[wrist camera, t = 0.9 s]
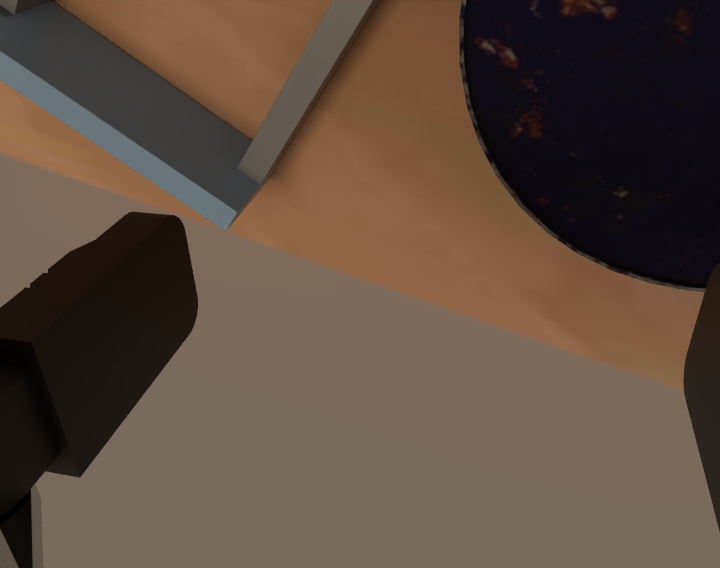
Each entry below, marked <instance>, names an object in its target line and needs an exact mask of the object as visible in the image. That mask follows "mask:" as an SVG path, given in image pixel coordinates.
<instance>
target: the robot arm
mask: <svg viewBox="0 0 720 568" xmlns="http://www.w3.org/2000/svg"><path fill="white" fill-rule="evenodd" d="M197 310H198V298H197V292H196V287H195V281H194V276H193V270H192V265H191V260H190V254H189V249H188V243H187V238H186V232H185V228H184V225H183V223H182V221H181V220H180V219H179V218H178V217H177V216H175V215H165V214H152V213H142V212H130V213H128V214H126V215H125V216H124V217H123V218H121V219H120V220H119V221H118V222H117V223H115V224H114V225H113V226H111V227H110V228H109V229H108V230H107V231H105V232H104V233H103V234H102V235H101V236H99V237H98V238H97V239H96V240H94V241H92V242H90V243H88V244H86V245H83V246H81V247H79V248H77V249H75V250H73V251H70V252H69V253H68V254H66V255H65V256H64V257H63V258H61V259H60V260H59V261H58V262H56V263H55V264H54V265H53V266H51V267H50V268H49V269H48V273H43V274H42V275H41V276H39V277H38V278H37V279H35V280H34V281H33V282H32V283H30V288H24V289H23V290H22V291H21V292H19V293H18V294H17V295H16V296H14V297H13V298H12V299H11V300H10V301H8V302H7V303H6V304H4V305H3V306H2V307H1V308H0V568H43V545H42V519H41V518H42V517H41V499H40V494H39V492H38V489H37V487H36V484H35V483H36V482H37V480H38V479H39V478H40V477H41V476H42V474H43V473H44V472H45V471H47V472H52V473H58V474H63V475H69V476H74V477H81V476H82V474H83V473H84V472H85V470H86V469H87V468H88V466H89V465H90V464H91V462H92V461H93V460H94V459H95V457H96V456H97V455H98V453H99V452H100V451H101V449H102V448H103V447H104V445H105V444H106V443H107V442H108V440H109V439H110V438H111V436H112V435H113V434H114V432H115V431H116V430H117V428H118V427H119V426H120V425H121V423H122V422H123V420H124V419H125V418H126V417H127V415H128V414H129V413H130V411H131V410H132V409H133V408H134V406H135V405H136V404H137V402H138V401H139V400H140V398H141V397H142V396H143V394H144V393H145V392H146V390H147V389H148V388H149V387H150V385H151V384H152V382H153V381H154V380H155V378H156V377H157V376H158V375H159V373H160V372H161V371H162V369H163V368H164V367H165V366H166V364H167V363H168V362H169V360H170V359H171V358H172V356H173V355H174V354H175V353H176V351H177V350H178V349H179V347H180V346H181V345H182V343H183V342H184V341H185V339H186V338H187V337H188V335H189V334H190V332H191V331H192V329H193V326H194V324H195V320H196V317H197ZM684 394H685V399H686V403H687V406H688V411H689V415H690V418H691V422H692V426H693V430H694V433H695V437H696V442H697V445H698V449H699V453H700V457H701V461H702V465H703V468H704V473H705V476H706V480H707V484H708V488H709V492H710V496H711V500H712V503H713V507H714V511H715V515H716V519H717V523H718V527H719V531H720V264H717V265H716V266H715V267H714V269H713V270H712V272H711V275H710V277H709V280H708V283H707V287H706V290H705V294H704V297H703V300H702V304H701V307H700V311H699V314H698V318H697V321H696V324H695V328H694V331H693V335H692V338H691V341H690V345H689V348H688V352H687V356H686V361H685V367H684Z"/></svg>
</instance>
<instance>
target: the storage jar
mask: <svg viewBox="0 0 720 568" xmlns="http://www.w3.org/2000/svg"><path fill="white" fill-rule="evenodd" d="M460 67H461V73H462V79H463V86H464V92H465V98H466V104H467V107H468V111H469V114H470V117H471V120H472V123H473V126H474V129H475V132H476V135H477V138H478V141H479V143H480V145H481V147H482V149H483V151H484V153H485V155H486V157H487V158H488V160H489V162H490V164H491V166H492V168H493V170H494V172H495V174H496V176H497V177H498V179H499V180H500V181H501V182H502V184H503V185H504V186H505V188H506V189H507V190H508V192H509V193H510V194H511V196H512V197H513V198H514V200H515V201H516V202H517V204H518V205H519V206H520V207H521V208H522V209H523V210H524V211H525V212H526V213H527V214H528V215H529V216H530V217H531V218H532V219H533V220H534V221H535V222H537V223H538V224H539V225H540V226H541V227H542V228H543V229H544V230H545V231H546V232H547V233H549V234H550V235H551V236H553V237H554V238H556V239H557V240H559V241H560V242H562V243H563V244H564V245H566V246H567V247H569V248H570V249H572V250H573V251H575V252H576V253H577V254H579V255H582V256H584V257H586V258H588V259H590V260H592V261H594V262H596V263H598V264H600V265H602V266H604V267H606V268H608V269H610V270H612V271H615V272H618V273H621V274H624V275H627V276H630V277H633V278H636V279H639V280H642V281H645V282H648V283H652V284H658V285H663V286H668V287H673V288H678V289H684V290H689V291H701V292H705V290H706V287H707V283H708V280H709V277H710V275H711V272H712V270H713V269H714V267H715V266H716V265H717V264H720V0H462V4H461V11H460Z"/></svg>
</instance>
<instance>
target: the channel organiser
mask: <svg viewBox="0 0 720 568" xmlns="http://www.w3.org/2000/svg"><path fill="white" fill-rule="evenodd" d="M378 1H379V0H333V1H332V2H331V4H330V6H329V8H328V9H327V11H326V13H325V15H324V16H323V18H322V20H321V22H320V23H319V25H318V27H317V29H316V30H315V32H314V34H313V36H312V37H311V39H310V41H309V43H308V44H307V46H306V48H305V50H304V52H303V53H302V55H301V57H300V59H299V60H298V62H297V64H296V66H295V67H294V69H293V71H292V73H291V74H290V76H289V78H288V80H287V81H286V83H285V85H284V87H283V88H282V90H281V92H280V94H279V95H278V97H277V99H276V101H275V102H274V104H273V106H272V108H271V110H270V111H269V113H268V115H267V117H266V118H265V120H264V122H263V124H262V125H261V127H260V129H259V131H258V132H257V134H256V136H255V138H254V139H253V141H251V140H250V139H249V138H247V137H246V136H244V135H243V134H241V133H240V132H239V131H237V130H236V129H234V128H233V127H231V126H230V125H229V124H227V123H226V122H224V121H223V120H221V119H220V118H219V117H217V116H216V115H214V114H213V113H211V112H210V111H209V110H207V109H206V108H204V107H203V106H201V105H200V104H199V103H197V102H196V101H194V100H193V99H191V98H190V97H189V96H187V95H186V94H184V93H183V92H181V91H180V90H179V89H177V88H176V87H174V86H173V85H171V84H170V83H169V82H167V81H166V80H164V79H163V78H161V77H160V76H159V75H157V74H156V73H154V72H153V71H151V70H150V69H149V68H147V67H146V66H144V65H143V64H141V63H140V62H139V61H137V60H136V59H134V58H133V57H131V56H130V55H129V54H127V53H126V52H124V51H123V50H121V49H120V48H119V47H117V46H116V45H114V44H113V43H111V42H110V41H109V40H107V39H106V38H104V37H103V36H101V35H100V34H99V33H97V32H96V31H94V30H93V29H91V28H90V27H89V26H87V25H86V24H84V23H83V22H81V21H80V20H79V19H77V18H76V17H74V16H73V15H71V14H70V13H69V12H67V11H66V10H64V9H63V8H61V7H60V6H59V5H57V4H56V3H54V2H53V1H52V0H0V80H1V81H3V82H4V83H5V84H7V85H8V86H10V87H11V88H13V89H14V90H16V91H17V92H19V93H20V94H22V95H23V96H25V97H26V98H28V99H29V100H31V101H32V102H34V103H35V104H37V105H38V106H40V107H41V108H43V109H44V110H46V111H47V112H49V113H50V114H52V115H53V116H54V117H56V118H57V119H59V120H60V121H62V122H63V123H65V124H66V125H68V126H69V127H71V128H72V129H74V130H75V131H77V132H78V133H80V134H81V135H83V136H84V137H86V138H87V139H89V140H90V141H92V142H93V143H95V144H96V145H98V146H99V147H101V148H102V149H104V150H105V151H106V152H108V153H109V154H111V155H112V156H114V157H115V158H117V159H118V160H120V161H121V162H123V163H124V164H126V165H127V166H129V167H130V168H132V169H133V170H135V171H136V172H138V173H139V174H141V175H142V176H144V177H145V178H147V179H148V180H150V181H151V182H153V183H154V184H156V185H157V186H158V187H160V188H161V189H163V190H164V191H166V192H167V193H169V194H170V195H172V196H173V197H175V198H176V199H178V200H179V201H181V202H182V203H184V204H185V205H187V206H188V207H190V208H191V209H193V210H194V211H196V212H197V213H199V214H200V215H202V216H203V217H205V218H206V219H207V220H209V221H210V222H212V223H213V224H215V225H216V226H218V227H219V228H221V229H222V230H224V231H225V232H226V231H227V229H228V228H229V227H230V226H231V225H232V223H233V222H234V221H235V220H236V218H237V217H238V216H239V215H240V214H241V212H242V211H243V210H244V209H245V207H246V206H247V205H248V204H249V203H250V201H251V200H252V199H253V198H254V196H255V195H256V194H257V193H258V192H259V190H260V189H261V188H262V187H263V186H264V184H265V183H266V182H267V181H268V179H269V178H270V176H271V175H272V173H273V171H274V170H275V168H276V167H277V165H278V163H279V162H280V160H281V159H282V157H283V155H284V154H285V152H286V150H287V149H288V147H289V146H290V144H291V142H292V141H293V139H294V137H295V136H296V134H297V133H298V131H299V129H300V128H301V126H302V125H303V123H304V121H305V120H306V118H307V116H308V115H309V113H310V112H311V110H312V108H313V107H314V105H315V103H316V102H317V100H318V99H319V97H320V95H321V94H322V92H323V91H324V89H325V87H326V86H327V84H328V82H329V81H330V79H331V78H332V76H333V74H334V73H335V71H336V69H337V68H338V66H339V65H340V63H341V61H342V60H343V58H344V57H345V55H346V53H347V52H348V50H349V48H350V47H351V45H352V44H353V42H354V40H355V39H356V37H357V35H358V34H359V32H360V31H361V29H362V27H363V26H364V24H365V23H366V21H367V19H368V18H369V16H370V14H371V13H372V11H373V10H374V8H375V6H376V5H377V3H378Z"/></svg>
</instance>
